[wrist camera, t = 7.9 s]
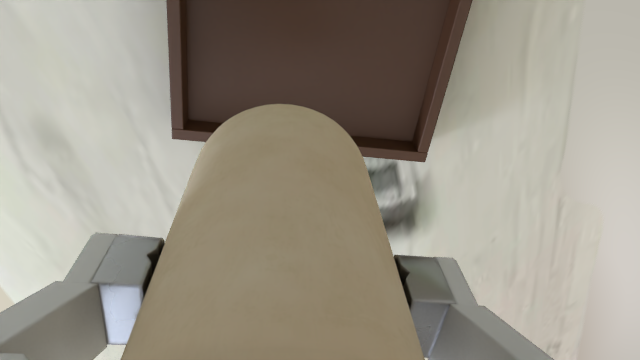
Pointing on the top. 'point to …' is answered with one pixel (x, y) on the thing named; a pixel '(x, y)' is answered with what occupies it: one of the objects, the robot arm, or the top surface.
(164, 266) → the candle
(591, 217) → the top surface
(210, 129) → the tray
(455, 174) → the top surface
